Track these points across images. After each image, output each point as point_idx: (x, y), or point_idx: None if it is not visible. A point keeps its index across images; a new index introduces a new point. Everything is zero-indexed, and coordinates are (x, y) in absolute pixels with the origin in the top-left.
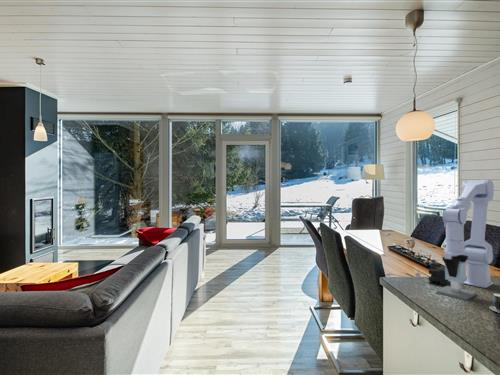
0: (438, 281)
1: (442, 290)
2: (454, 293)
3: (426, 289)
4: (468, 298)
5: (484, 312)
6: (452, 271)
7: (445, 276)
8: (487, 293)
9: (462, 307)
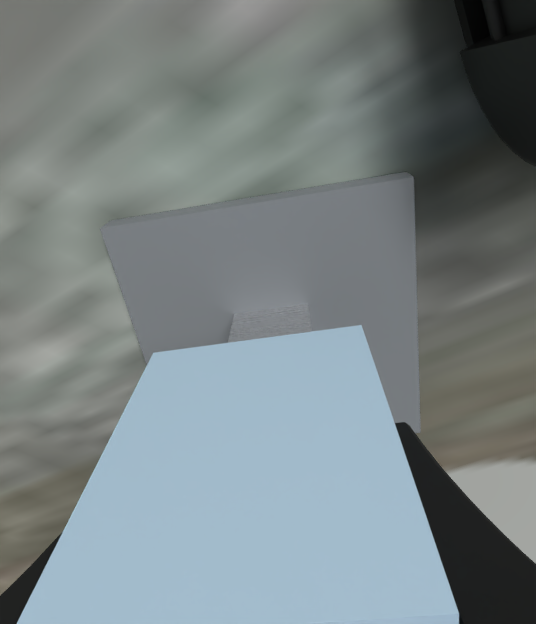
0: (486, 15)
1: (171, 259)
2: None
3: (128, 64)
4: None
5: None
6: None
7: (144, 379)
8: (524, 443)
9: (17, 483)
